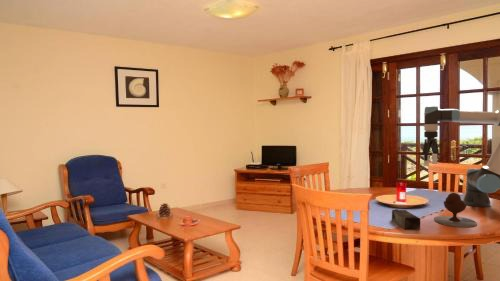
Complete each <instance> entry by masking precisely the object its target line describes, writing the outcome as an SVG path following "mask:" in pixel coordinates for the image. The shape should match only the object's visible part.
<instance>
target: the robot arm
mask: <svg viewBox="0 0 500 281" xmlns="http://www.w3.org/2000/svg"><path fill="white" fill-rule="evenodd" d="M423 116H424V120H423V122H424V125H423V129H424V130H423V131H424V134H423V136H424V138H425V139H424V142H423V147H422V148H423V149H422V154H421V155H422V156H423V166H424V167H430V155H429V153H430V151H432V155H431V157H432V158H431V164H433V165H438V155H439V154H440V151H439V150H440V149H439V147H438V137H439V132H438V131H439V127H438V126H439V125H438V124H439V123H438V122H448V123H450V122H453V123H468V124H485V125H486V124H487V125H488V124H489V125H494V127H495V126H496V127H500V110H496V111H477V110H476V111H475V110H460V109H457V108H444V109H441V108H439V106H436V105H432V106H431V105H430V106H429V105H428V106H425V107H424V113H423ZM499 189H500V140H499V141H498V142H497V145H496V147H495V148H494V150H493V152H492V153H491V155H490V157H489V158H488V161H487V163H486V164H485V165H483V166H481V167H480V168H468V169H467V171H466V191H465V194H464V197H463V199H462V201H464V203H466V204H467V205H466V206H472V207H483V208H484V207H485V208H486V207H490V206H491V203H492V202H491V200H490V197H489V194H493V193H495V192H497V191H498V190H499Z"/></svg>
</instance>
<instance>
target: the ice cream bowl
mask: <svg viewBox="0 0 500 281" xmlns="http://www.w3.org/2000/svg"><path fill="white" fill-rule="evenodd" d="M443 205H444V208H445V209H446V210H447V211H448V212H450V213H451V214H452V216H453V217H452V218H449V220H450V221H454V222H460V219H458V218H457V217H458V216H457V214H459V213H462V212H464V211H465V210H466V208H467V206H468V205H467V204H466V203H464V201H463V199H461V195H460V194H458V192H457V193H456V192H451V193H449V194H448V195H447V196H446V197H445V200H444V201H443Z"/></svg>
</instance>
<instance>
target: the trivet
mask: <svg viewBox="0 0 500 281" xmlns="http://www.w3.org/2000/svg"><path fill="white" fill-rule="evenodd" d="M452 217H453V215H438V216H437V215H436V216H434V217H433V221H434V222H435V223H437V224H440V225H444V226H448V227H454V228H474V227H477V225H478V223H477V221H475V220H473V219H471V218H467V217H462V216H457V218H458V219H460V222H454V221H450V220H449V218H452Z"/></svg>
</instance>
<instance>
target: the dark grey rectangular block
mask: <svg viewBox="0 0 500 281" xmlns="http://www.w3.org/2000/svg"><path fill="white" fill-rule="evenodd" d="M391 221H393V222H394V223H395V224H397V225H398V226H399V227H401V228H402V229H403V230H408V231H409V230H410V231H420V230H421V218H420V217H419V216H416V215H415V214H412V213H411V212H410V211H408V210H407V209H397V208H395V209H391Z"/></svg>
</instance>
